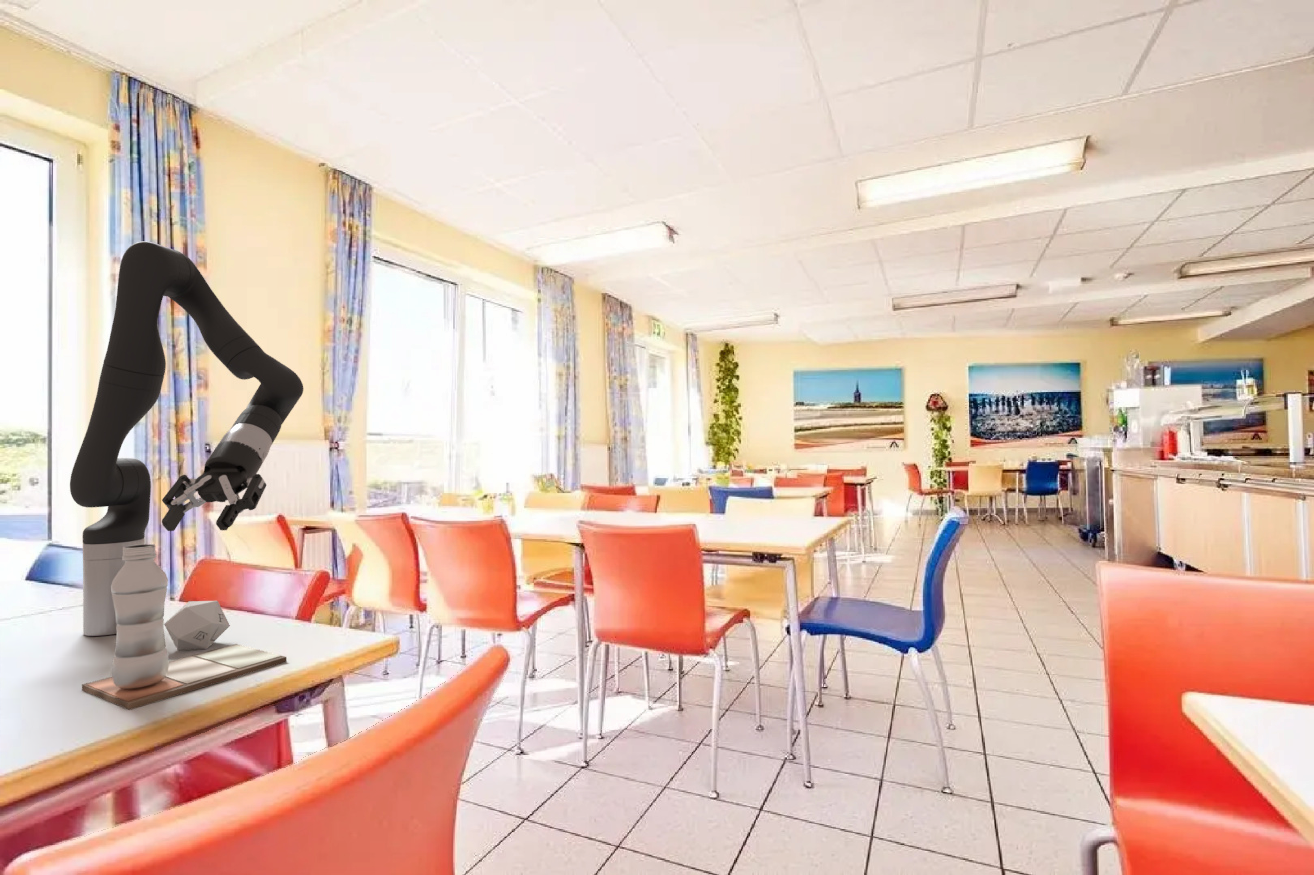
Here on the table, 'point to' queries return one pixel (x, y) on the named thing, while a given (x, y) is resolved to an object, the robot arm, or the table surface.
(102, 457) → the robot arm
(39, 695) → the table surface
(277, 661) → the game board
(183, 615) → the die
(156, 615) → the plastic bottle
